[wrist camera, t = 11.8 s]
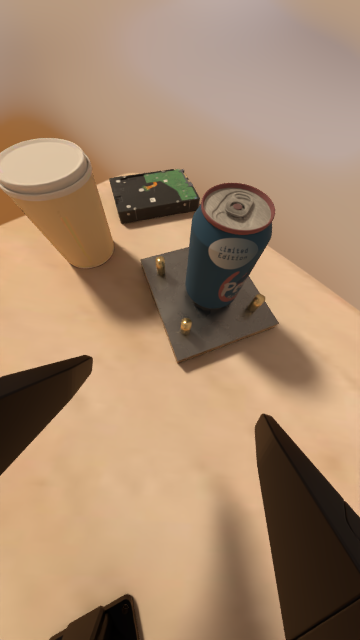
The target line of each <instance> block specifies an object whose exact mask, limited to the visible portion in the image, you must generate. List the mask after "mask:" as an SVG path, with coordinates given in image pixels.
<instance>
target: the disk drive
mask: <svg viewBox="0 0 360 640" xmlns="http://www.w3.org/2000/svg"><path fill="white" fill-rule="evenodd" d="M109 180H110V184H111V188H112V192H113V196H114V199H115V203H116V207H117V211H118V214H119V218H120V221H121V224H124V223H131V222H136V221H141V220H146V219H151V218H157V217H162V216H168V215H174V214H179V213H186V212H191V211H196V210H197V209H198V207H199V200H200V198H199V196H198V194H197V192H196V190H195V189H194V187H193V184H192V183H191V182H190V181H189V179H188V177H187V176H186V174H185V173H184V170H183V169H182V170H179V169H176V170H174V169H171V170H165V171H157V172H151V173H144V174H136V175H129V176H120V177H114V178H110V179H109Z"/></svg>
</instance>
